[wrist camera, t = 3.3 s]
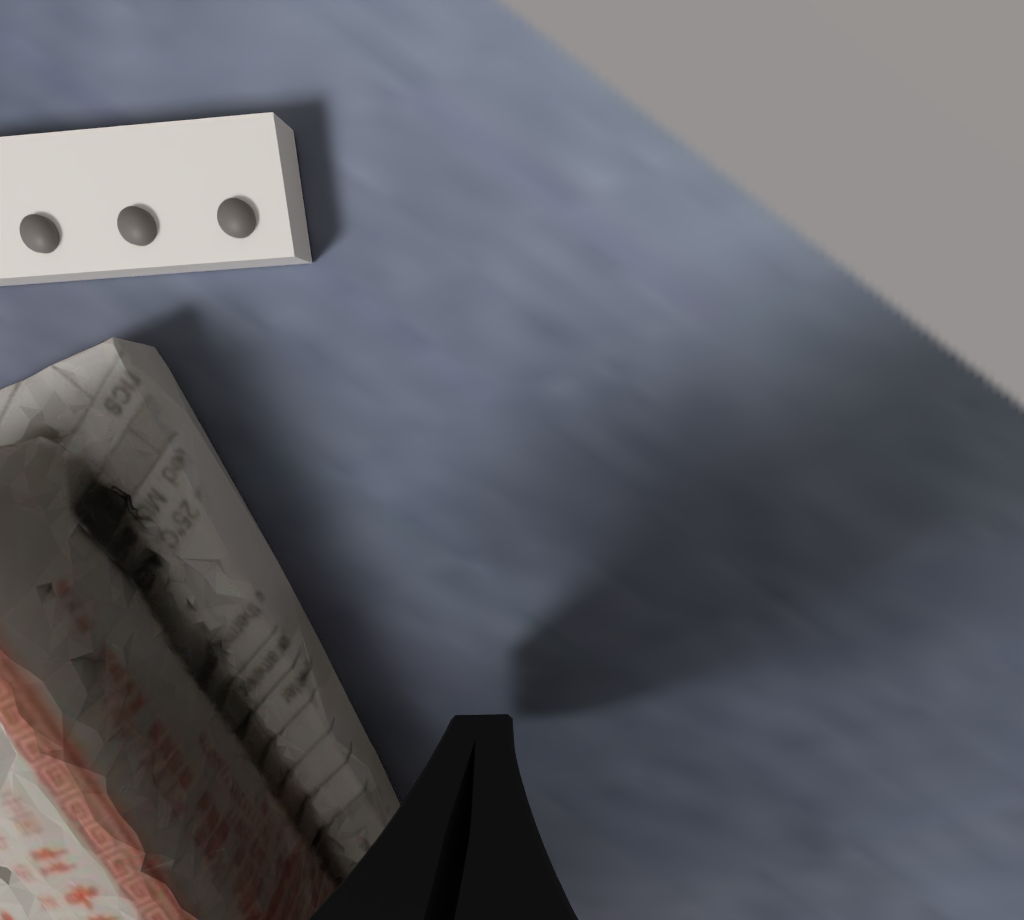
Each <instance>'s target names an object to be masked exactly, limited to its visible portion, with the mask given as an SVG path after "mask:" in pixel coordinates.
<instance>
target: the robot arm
mask: <svg viewBox="0 0 1024 920" xmlns="http://www.w3.org/2000/svg"><path fill="white" fill-rule="evenodd" d="M308 920H578V918H577V917H576V915H575V913H574V911H573V909H572V907H571V905H570V903H569V901H568V899H567V897H566V895H565V893H564V890H563V888H562V886H561V884H560V882H559V880H558V878H557V875H556V873H555V871H554V868H553V866H552V864H551V861H550V859H549V857H548V854H547V852H546V850H545V847H544V845H543V842H542V839H541V837H540V834H539V832H538V829H537V826H536V823H535V821H534V818H533V815H532V812H531V809H530V806H529V803H528V800H527V797H526V793H525V790H524V786H523V783H522V779H521V776H520V772H519V768H518V764H517V759H516V754H515V747H514V732H513V719H512V718H511V717H510V716H509V715H508V714H497V715H455V716H454V717H453V718H452V719H451V721H450V723H449V725H448V727H447V729H446V731H445V733H444V735H443V737H442V739H441V741H440V742H439V744H438V746H437V748H436V750H435V751H434V753H433V755H432V757H431V758H430V760H429V762H428V764H427V765H426V767H425V768H424V770H423V772H422V773H421V775H420V776H419V778H418V780H417V781H416V783H415V784H414V786H413V788H412V789H411V791H410V792H409V794H408V795H407V797H406V798H405V800H404V801H403V803H402V804H401V806H400V807H399V809H398V810H397V811H396V813H395V814H394V816H393V817H392V819H391V820H390V821H389V823H388V824H387V826H386V827H385V829H384V830H383V831H382V833H381V834H380V835H379V837H378V838H377V839H376V841H375V842H374V843H373V845H372V846H371V847H370V848H369V850H368V851H367V852H366V854H365V855H364V856H363V857H362V859H361V860H360V861H359V862H358V863H357V865H356V866H355V867H354V868H353V870H352V871H351V872H350V873H349V874H348V876H347V877H346V878H345V879H344V880H343V881H342V882H341V884H340V885H339V886H338V887H337V888H336V889H335V890H334V892H333V893H332V894H331V895H330V896H329V897H328V898H327V899H326V901H325V902H324V903H323V904H322V905H321V906H320V907H319V908H318V909H317V911H316V912H315V913H314V914H313V915H312V916H311V917H310V918H309V919H308Z"/></svg>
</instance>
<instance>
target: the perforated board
mask: <svg viewBox="0 0 1024 920" xmlns="http://www.w3.org/2000/svg"><path fill="white" fill-rule="evenodd" d="M307 263H312V257H311V250H310V243H309V236H308V229H307V222H306V215H305V208H304V201H303V194H302V187H301V180H300V173H299V166H298V159H297V152H296V145H295V139H294V132H293V130H292V129H291V128H290V127H289V126H288V125H287V124H286V123H285V122H283V121H282V120H281V119H280V118H279V117H278V116H277V115H276V114H274V113H273V112H269V113H258V114H247V115H236V116H225V117H214V118H203V119H192V120H181V121H170V122H159V123H148V124H137V125H126V126H115V127H104V128H93V129H82V130H71V131H60V132H49V133H38V134H27V135H16V136H5V137H0V286H9V285H23V284H36V283H50V282H63V281H77V280H91V279H104V278H118V277H131V276H145V275H158V274H172V273H185V272H199V271H212V270H226V269H239V268H253V267H266V266H280V265H293V264H307Z"/></svg>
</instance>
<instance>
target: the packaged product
mask: <svg viewBox="0 0 1024 920" xmlns="http://www.w3.org/2000/svg"><path fill="white" fill-rule="evenodd" d="M400 806H401V805H400V803H399V800H398V798H397V796H396V794H395V792H394V790H393V788H392V785H391V783H390V781H389V779H388V777H387V775H386V772H385V770H384V768H383V766H382V764H381V762H380V759H379V757H378V755H377V753H376V751H375V749H374V747H373V746H372V744H371V742H370V740H369V739H368V737H367V735H366V733H365V731H364V729H363V727H362V725H361V723H360V721H359V719H358V717H357V715H356V713H355V711H354V709H353V707H352V705H351V703H350V701H349V699H348V697H347V695H346V693H345V691H344V689H343V687H342V685H341V683H340V681H339V679H338V677H337V675H336V673H335V671H334V669H333V667H332V665H331V663H330V661H329V659H328V656H327V654H326V652H325V650H324V648H323V646H322V645H321V643H320V641H319V639H318V637H317V635H316V633H315V631H314V629H313V627H312V625H311V623H310V622H309V620H308V618H307V616H306V614H305V612H304V610H303V608H302V606H301V604H300V602H299V600H298V599H297V597H296V595H295V593H294V591H293V589H292V587H291V585H290V583H289V582H288V580H287V578H286V576H285V574H284V572H283V570H282V568H281V566H280V564H279V563H278V561H277V559H276V557H275V556H274V554H273V552H272V550H271V549H270V547H269V545H268V543H267V541H266V540H265V538H264V536H263V534H262V533H261V531H260V529H259V527H258V525H257V524H256V522H255V520H254V518H253V517H252V515H251V513H250V511H249V509H248V508H247V506H246V504H245V502H244V501H243V499H242V497H241V495H240V494H239V492H238V490H237V488H236V486H235V485H234V483H233V481H232V479H231V478H230V476H229V474H228V472H227V470H226V469H225V467H224V465H223V463H222V462H221V460H220V458H219V456H218V454H217V453H216V451H215V449H214V447H213V446H212V444H211V442H210V440H209V439H208V437H207V435H206V433H205V431H204V430H203V428H202V426H201V424H200V423H199V421H198V419H197V417H196V415H195V414H194V412H193V410H192V408H191V407H190V405H189V403H188V401H187V399H186V398H185V396H184V394H183V392H182V391H181V389H180V387H179V385H178V384H177V382H176V380H175V378H174V376H173V375H172V373H171V371H170V369H169V368H168V366H167V365H166V363H165V362H164V360H163V359H162V357H161V356H160V354H159V353H158V351H157V350H156V348H155V347H153V346H149V345H145V344H141V343H136V342H132V341H128V340H123V339H119V338H115V337H112V338H110V339H109V340H107V341H105V342H103V343H101V344H99V345H96V346H94V347H92V348H90V349H87V350H85V351H83V352H80V353H78V354H76V355H74V356H71V357H69V358H67V359H64V360H62V361H60V362H57V363H55V364H53V365H51V366H49V367H47V368H46V369H44V370H42V371H41V372H39V373H37V374H35V375H33V376H31V377H30V378H28V379H25V380H23V381H20V382H18V383H15V384H13V385H10V386H8V387H5V388H3V389H1V390H0V920H308V919H309V918H310V917H311V916H312V915H313V914H314V913H315V912H316V911H317V909H318V908H319V907H320V906H321V905H322V904H323V903H324V902H325V901H326V899H327V898H328V897H329V896H330V895H331V894H332V893H333V892H334V890H335V889H336V888H337V887H338V886H339V885H340V884H341V882H342V881H343V880H344V879H345V878H346V877H347V876H348V874H349V873H350V872H351V871H352V870H353V868H354V867H355V866H356V865H357V863H358V862H359V861H360V860H361V859H362V857H363V856H364V855H365V854H366V852H367V851H368V850H369V848H370V847H371V846H372V845H373V843H374V842H375V841H376V839H377V838H378V837H379V835H380V834H381V833H382V831H383V830H384V829H385V827H386V826H387V824H388V823H389V821H390V820H391V819H392V817H393V816H394V814H395V813H396V811H397V810H398V809H399V807H400Z"/></svg>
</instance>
